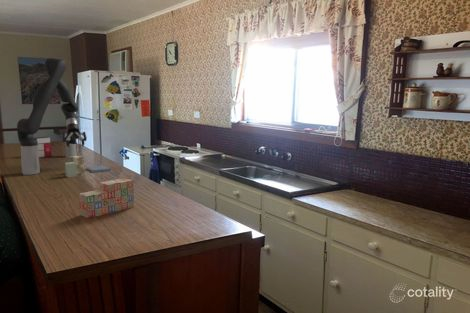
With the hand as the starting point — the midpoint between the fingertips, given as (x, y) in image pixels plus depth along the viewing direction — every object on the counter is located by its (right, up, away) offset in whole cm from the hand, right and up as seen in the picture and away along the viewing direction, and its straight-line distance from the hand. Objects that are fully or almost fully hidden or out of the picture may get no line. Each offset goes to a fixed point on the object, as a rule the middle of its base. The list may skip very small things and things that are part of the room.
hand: (75, 145), depth 242 cm
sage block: (+5, -19, -18) cm, 26 cm away
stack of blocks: (+48, -30, -83) cm, 100 cm away
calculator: (-44, -7, +47) cm, 65 cm away
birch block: (+5, -17, -8) cm, 19 cm away
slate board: (+14, -16, 0) cm, 21 cm away
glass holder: (-22, -7, +51) cm, 56 cm away
